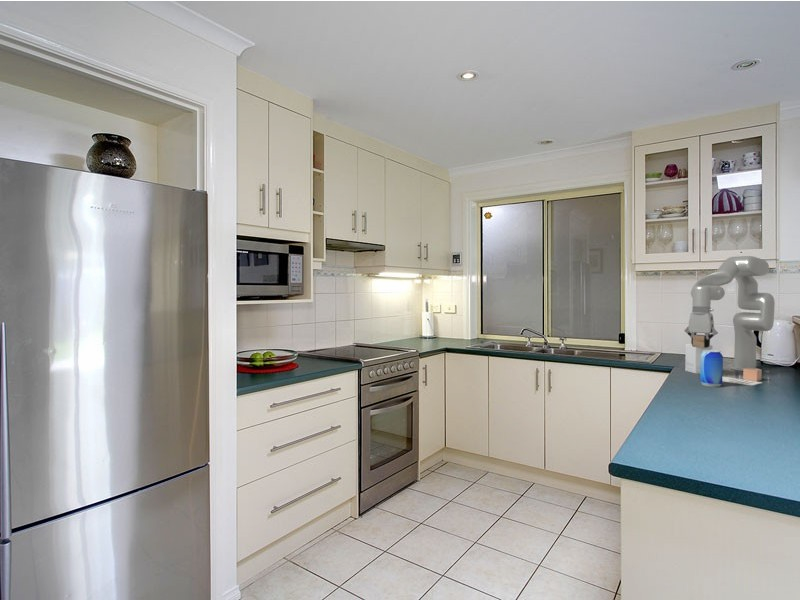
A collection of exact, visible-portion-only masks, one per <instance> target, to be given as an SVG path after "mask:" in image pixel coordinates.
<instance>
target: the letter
mask: <svg viewBox="0 0 800 600" xmlns="http://www.w3.org/2000/svg"><path fill="white" fill-rule="evenodd" d="M722 382H727V383H733V384H741V385H744V386H745V385H746V386H756V385H759V384H763V382H762V381H751V380H744V379H742V378H735V377H727V376H722Z"/></svg>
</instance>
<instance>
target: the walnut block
mask: <svg viewBox="0 0 800 600" xmlns="http://www.w3.org/2000/svg"><path fill="white" fill-rule="evenodd" d="M705 339H706V337H705V334H696V335H693V347H698V348H707V347H705Z"/></svg>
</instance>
